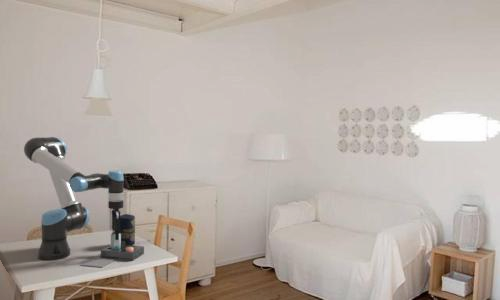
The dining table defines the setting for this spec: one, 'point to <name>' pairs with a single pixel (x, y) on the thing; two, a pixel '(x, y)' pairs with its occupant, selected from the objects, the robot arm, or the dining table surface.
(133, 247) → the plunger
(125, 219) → the canister
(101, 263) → the mat
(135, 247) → the housing
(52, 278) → the dining table surface
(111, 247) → the cylinder
